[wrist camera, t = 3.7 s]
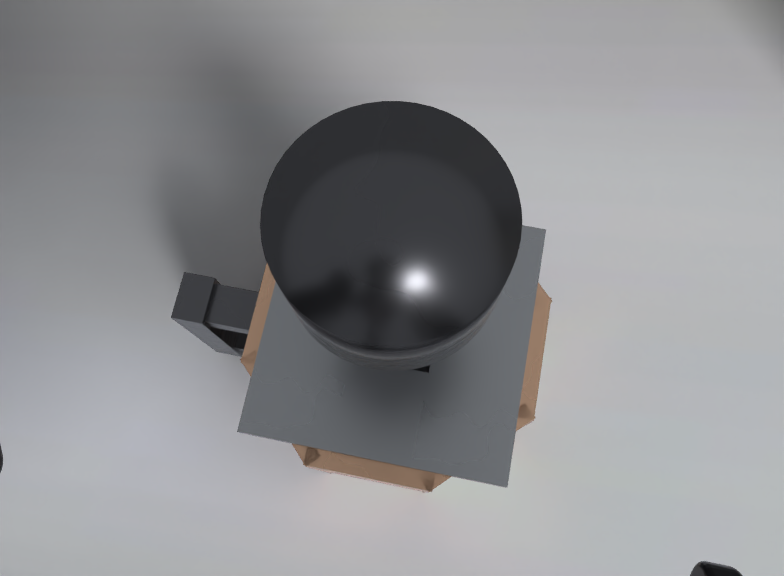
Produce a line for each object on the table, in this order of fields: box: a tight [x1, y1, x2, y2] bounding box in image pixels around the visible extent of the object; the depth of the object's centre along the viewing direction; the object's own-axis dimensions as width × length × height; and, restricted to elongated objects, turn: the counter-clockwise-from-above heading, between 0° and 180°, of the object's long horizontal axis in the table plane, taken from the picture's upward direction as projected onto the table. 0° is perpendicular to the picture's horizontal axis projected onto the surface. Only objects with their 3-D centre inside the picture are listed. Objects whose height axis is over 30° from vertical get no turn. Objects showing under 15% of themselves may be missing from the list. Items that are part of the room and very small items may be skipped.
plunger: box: [260, 101, 522, 373], centre depth 14 cm, size 5×5×8 cm
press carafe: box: [171, 225, 552, 492], centre depth 19 cm, size 7×9×6 cm
